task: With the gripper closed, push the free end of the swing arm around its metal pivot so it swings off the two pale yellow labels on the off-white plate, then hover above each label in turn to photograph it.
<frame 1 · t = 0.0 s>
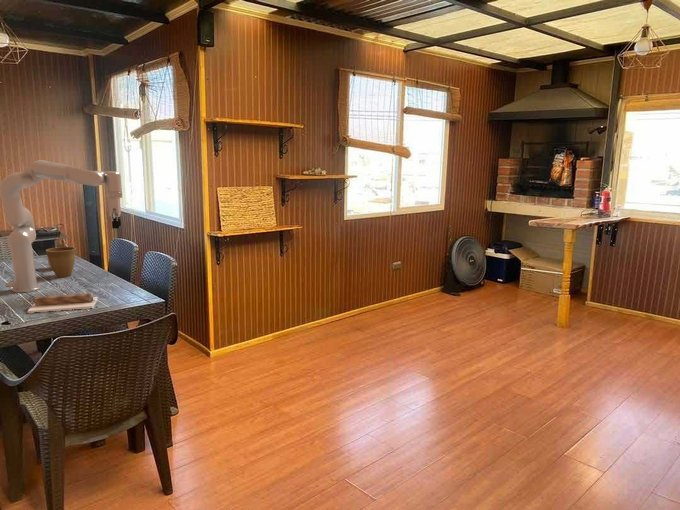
hand: (116, 227, 263), 31 cm above the table, tool pointing down, fingers open, 9 cm apart
teacup: (57, 269, 301), on the table
plant pot: (63, 276, 284), on the table
label plate: (64, 305, 229), on the table
swing arm: (64, 298, 228), point 4 cm above the table, hinge at 0.0°
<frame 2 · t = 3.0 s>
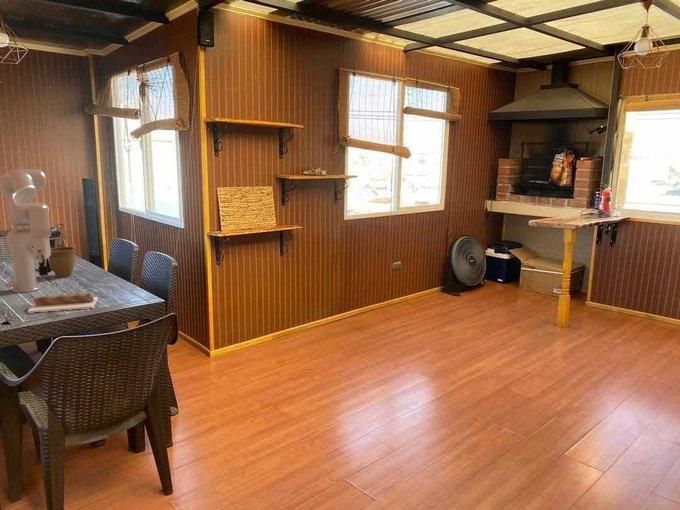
hand: (45, 273, 218), 17 cm above the table, tool pointing down, fingers open, 4 cm apart
nothing on the table moved.
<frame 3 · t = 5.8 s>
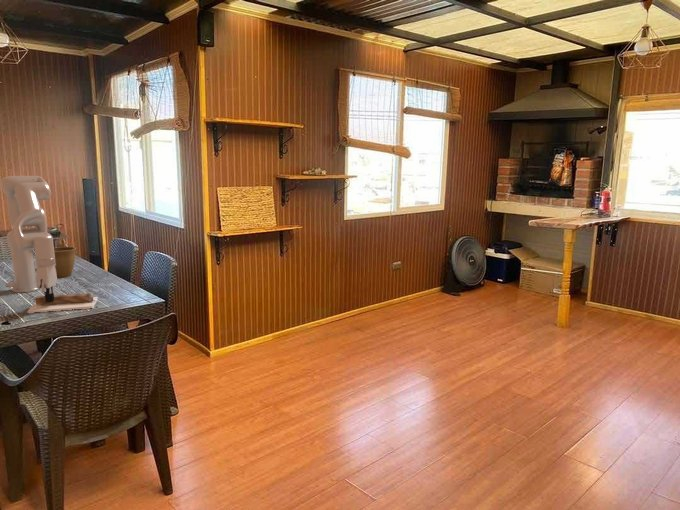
hand: (50, 301, 224), 3 cm above the table, tool pointing down, fingers closed
swing arm: (65, 298, 229), point 3 cm above the table, hinge at 3.9°, touching gripper
everything else where it was.
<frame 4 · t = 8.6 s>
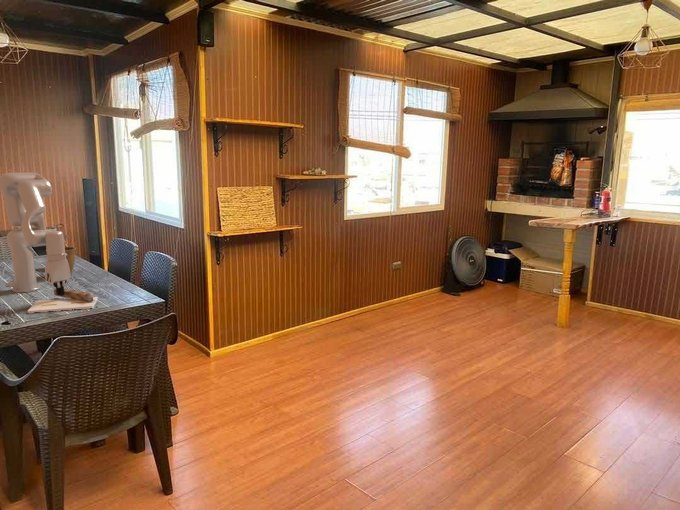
hand: (60, 294, 235), 3 cm above the table, tool pointing down, fingers closed
swing arm: (74, 294, 236), point 3 cm above the table, hinge at 41.8°, touching gripper
everything else where it was.
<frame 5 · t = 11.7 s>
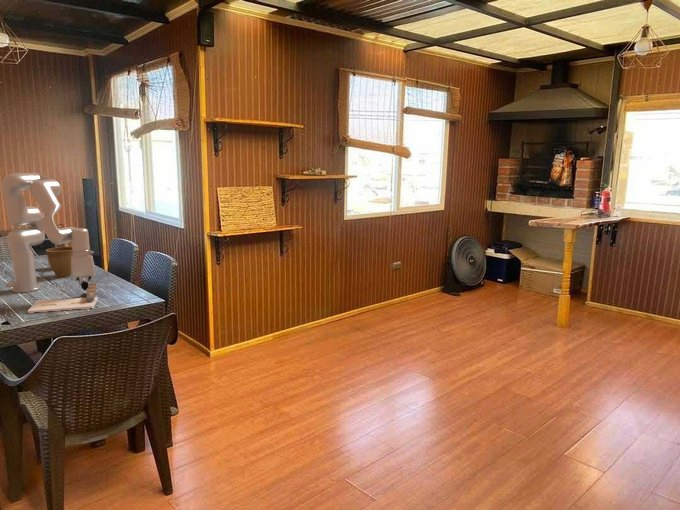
hand: (85, 289, 245), 3 cm above the table, tool pointing down, fingers closed
swing arm: (91, 291, 241), point 3 cm above the table, hinge at 85.8°, touching gripper
everything else where it was.
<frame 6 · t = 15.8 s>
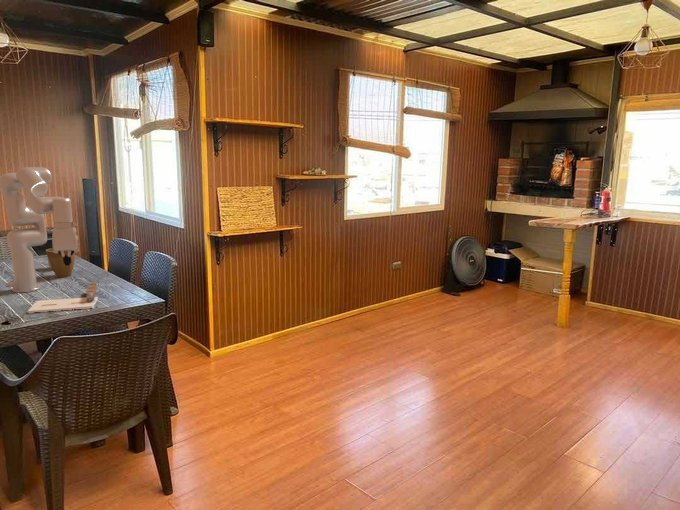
hand: (67, 264, 226), 19 cm above the table, tool pointing down, fingers closed
swing arm: (91, 291, 241), point 3 cm above the table, hinge at 85.9°
everything else where it was.
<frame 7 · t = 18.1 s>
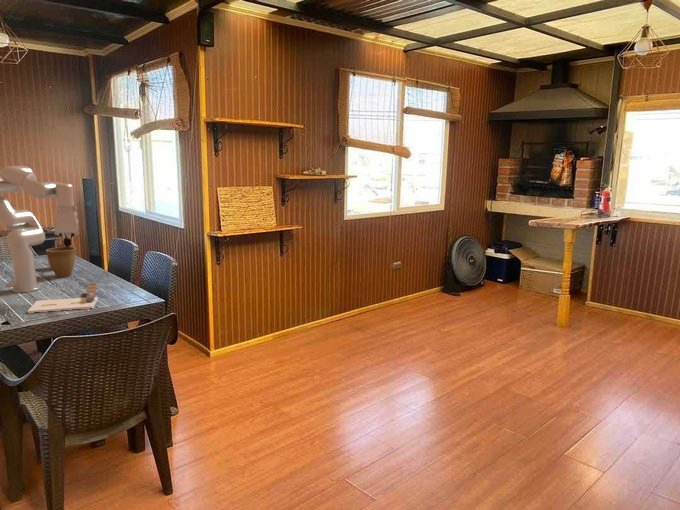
hand: (67, 246, 241), 25 cm above the table, tool pointing down, fingers closed
nothing on the table moved.
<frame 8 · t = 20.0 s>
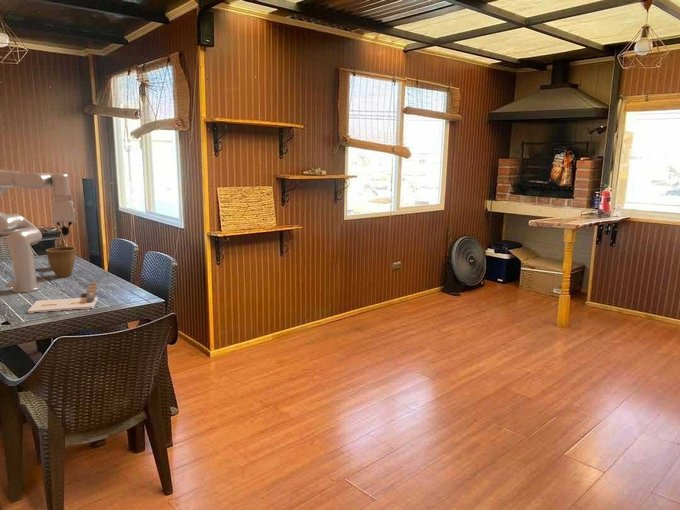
hand: (65, 235, 248), 29 cm above the table, tool pointing down, fingers closed
nothing on the table moved.
at the end: swing arm at +86° (first picture: +0°) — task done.
